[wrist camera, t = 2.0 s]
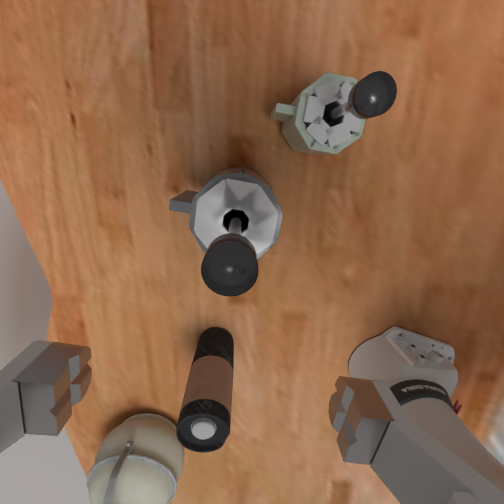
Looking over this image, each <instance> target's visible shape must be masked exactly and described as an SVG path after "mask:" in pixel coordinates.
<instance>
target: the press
mask: <svg viewBox="0 0 504 504" xmlns="http://www.w3.org/2000/svg"><path fill="white" fill-rule="evenodd" d="M169 210H172V211H178V212H184V213H191V217H190V226H189V227H190V229H191V231H192V233H193V235H194V236H195V238H196V240H197V241H198V243H199V245H200V246H201V248H202V250H203V251H205V253H206V252H207V249H208V247H209V245H210V243H211V242H212V241H213V240H214V239H215V238H217V237H218V236H221V235H223V234H228V231H229V226H230V221H231V219H232V218H234V217H237V218H239V219H240V220H241V235H242V236H244V237H245V238H247V239H248V240H249V241H250V242H251V243H252V244H253V246H254V248H255V250H256V254H257V260H258V259H259V258H260V257H261V256H262V255H263V254H264V253H265V252H266V251H267V250H268V249H270V248H271V247H272V246H273V245H274V244H275V243H276V241H277V240H278V236H279V231H280V226H281V221H282V217H283V214H282V210H281V208H280V206H279V204H278V202H277V199H276V197H275V195H274V193H273V191H272V189H271V187H270V186H269V185H268V183H267V182H266V181H265V180H264V179H263V178H262V176H260V175H259V174H257V173H255V172H253V171H251V170H250V169H248V168H246V167H244V168H243V167H237V168H230V169H224V170H223V171H221V172H220V173H218V174H217V175H215V176H214V177H212V178H211V179H210V181H209V182H208V183H207V184H206V185H205V186H204V187H203V188H202V189H201V190H200V191H199V192H196V191H190V190H186V191H184V192H183V193H181V194H179V195H178V196H176V197H174V198H173V199H171V200H170V207H169Z"/></svg>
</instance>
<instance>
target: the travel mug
mask: <svg viewBox="0 0 504 504" xmlns="http://www.w3.org/2000/svg"><path fill="white" fill-rule="evenodd" d="M233 355H234V344H233V338H232V336H231V334H230V333H229V332H228V331H226V330H225V329H222V328H210V329H208V330H206V331H204V332H203V333H202V335H201V336H200V339H199V342H198V345H197V349H196V352H195V355H194V359H193V362H192V365H191V369H190V373H189V377H188V382H187V386H186V390H185V394H184V399H183V403H182V407H181V411H180V415H179V420H178V424H177V428H176V436H177V439H178V441H179V442H180V443H181V444H182V445H183V446H184V447H185V448H187V449H189V450H192V451H195V452H211V451H215V450H217V449H219V448H221V447H222V446H223V444H224V442H225V440H226V439H227V437H228V435H230V419H231V403H232V387H233Z"/></svg>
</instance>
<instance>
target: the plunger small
mask: <svg viewBox="0 0 504 504" xmlns="http://www.w3.org/2000/svg"><path fill="white" fill-rule="evenodd" d="M396 93H397V88H396V83H395V81H394V79H393V78H392V76H391V75H389V74H388V73H386V72H382V71H377V72H373V73H371V74H369V75H368V76H366V77H365V78H363V79H362V80H360V81H359V82H357V83H356V84H355V85H354V86H353V87H352V89H351V90H350V93H349V96H348V102H346V103H344V104H342V105H340V106H338V107H337V108H335V109H333V110H332V111H331V116H332V117H333V118H338V117H341V116H343V115H345V114H348V113H350V112H351V113H352V115H354V116H355V117H356V118H359V119H368V118H372V117H375V116H378V115H381V114H383V113H385V112H386V111H388V110H389V109H390V107H391V106H392V105H393V103H394V101H395V98H396Z"/></svg>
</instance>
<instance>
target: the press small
mask: <svg viewBox="0 0 504 504" xmlns="http://www.w3.org/2000/svg"><path fill="white" fill-rule="evenodd" d="M356 83H357V80H356V78H351V77H347V76H342V75H337V74H333V73H328V72H327V73H325V74H324V75H323V76H322V77H320V78H319V79H318V80H316V81H315V82H314V83H312V84H311V85H310V86H309V87H307V88H306V89H305V90H303V91H302V92H301V93H300V94H299V95H298V96H297V97H296V99H295V100H294V101H293V102H292V103H291V104H290V105H286V104H281V103H277V104H276V105H275V107H274V109H273V110H272V112H271V118H270V119H272V120H277V121H282V122H283V127H282V134H283V136H284V137H285V139H286V141H287V143H288V144H289V146H290V147H291V149H292V150H293V151H296V152H302V153H307V154H312V155H316V154H337V153H339V152H340V151H341V150H343V149H344V148H346V147H347V146H349V145H350V144H351V143H353V142H354V141H356V140H357V139H359V138H360V137H361V134H362V131H363V127H364V124H365V120H366V119H359V118H356V117H355V116H354V115H352V113H351V112H350V113H348V114H345V115H343V116H341V117H338V118H333V117H332V116H331V111H332V110H333V109H335V108H337V107H338V106H340V105H342V104H344V103H346V102H348V96H349V93H350V90H351V89H352V87H353V86H354V85H355V84H356Z"/></svg>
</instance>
